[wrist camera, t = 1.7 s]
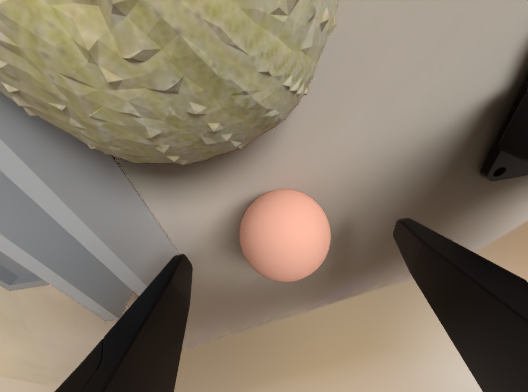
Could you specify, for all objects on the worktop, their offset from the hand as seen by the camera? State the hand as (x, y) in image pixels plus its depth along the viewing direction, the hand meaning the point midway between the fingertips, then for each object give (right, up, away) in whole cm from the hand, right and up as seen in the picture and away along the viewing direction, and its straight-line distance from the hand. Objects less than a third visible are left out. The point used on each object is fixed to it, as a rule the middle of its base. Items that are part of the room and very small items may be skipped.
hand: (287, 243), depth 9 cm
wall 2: (-8, +2, +1) cm, 8 cm away
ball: (0, +1, +2) cm, 3 cm away
